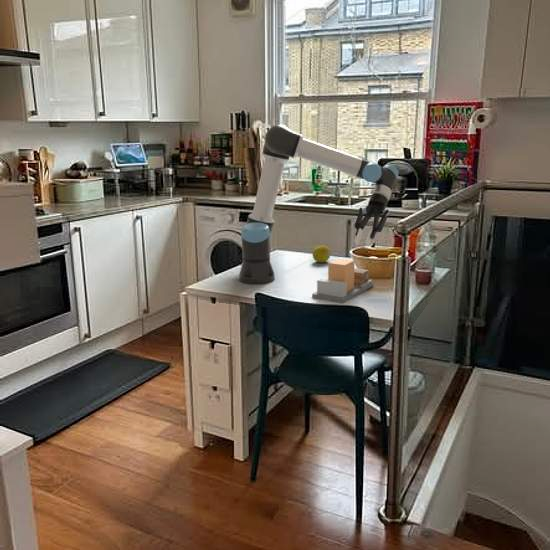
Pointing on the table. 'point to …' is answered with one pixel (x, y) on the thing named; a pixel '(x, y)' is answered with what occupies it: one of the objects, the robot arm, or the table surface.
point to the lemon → (321, 254)
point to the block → (342, 272)
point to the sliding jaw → (360, 276)
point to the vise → (338, 290)
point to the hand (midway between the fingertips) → (361, 243)
